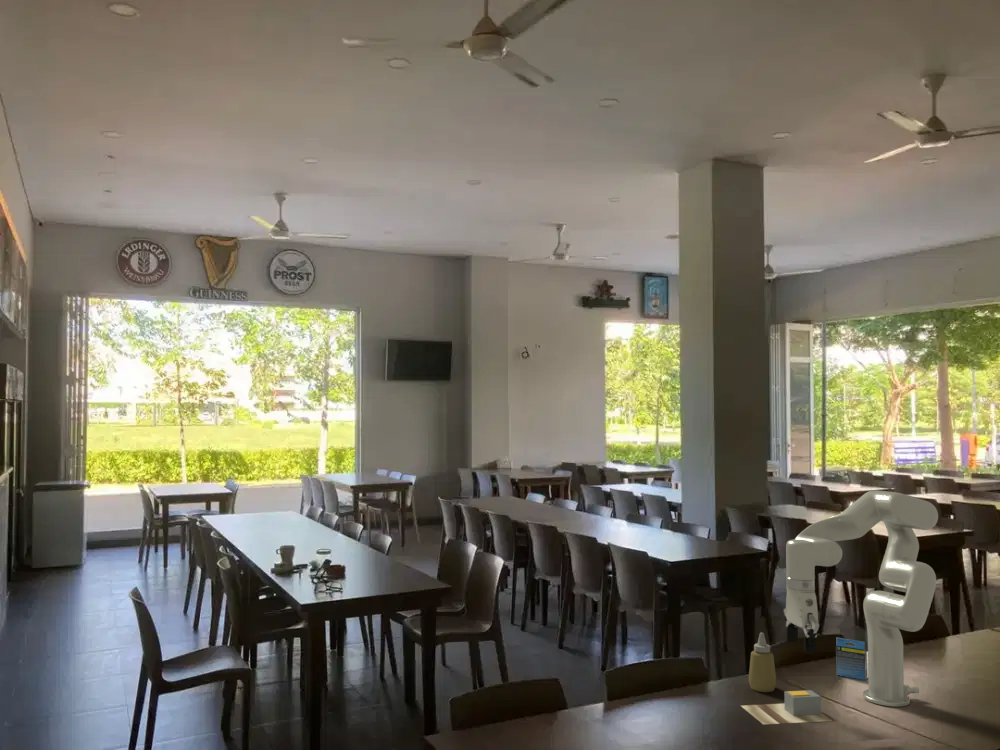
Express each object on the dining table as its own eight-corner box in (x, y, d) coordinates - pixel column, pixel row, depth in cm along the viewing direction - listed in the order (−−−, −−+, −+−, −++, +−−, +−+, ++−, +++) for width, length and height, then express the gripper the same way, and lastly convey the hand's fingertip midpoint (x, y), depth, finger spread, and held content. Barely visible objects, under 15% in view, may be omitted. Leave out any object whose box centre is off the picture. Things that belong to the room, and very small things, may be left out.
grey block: (811, 708, 227) (810, 689, 228) (820, 714, 223) (820, 695, 223) (784, 709, 226) (784, 690, 227) (793, 716, 221) (793, 696, 222)
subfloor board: (806, 707, 232) (806, 702, 232) (833, 726, 218) (833, 720, 218) (740, 711, 229) (740, 705, 229) (763, 730, 215) (763, 724, 215)
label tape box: (867, 677, 259) (867, 638, 260) (865, 681, 256) (865, 641, 256) (838, 672, 264) (837, 634, 264) (836, 676, 260) (835, 637, 261)
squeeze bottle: (778, 698, 239) (777, 637, 240) (750, 696, 241) (749, 635, 242) (774, 689, 247) (774, 630, 248) (747, 688, 249) (746, 628, 249)
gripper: (829, 591, 218) (830, 655, 217) (797, 578, 235) (797, 637, 234) (803, 591, 217) (804, 656, 216) (773, 578, 234) (773, 638, 233)
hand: (800, 646), depth 225 cm, fingers open, 9 cm apart
